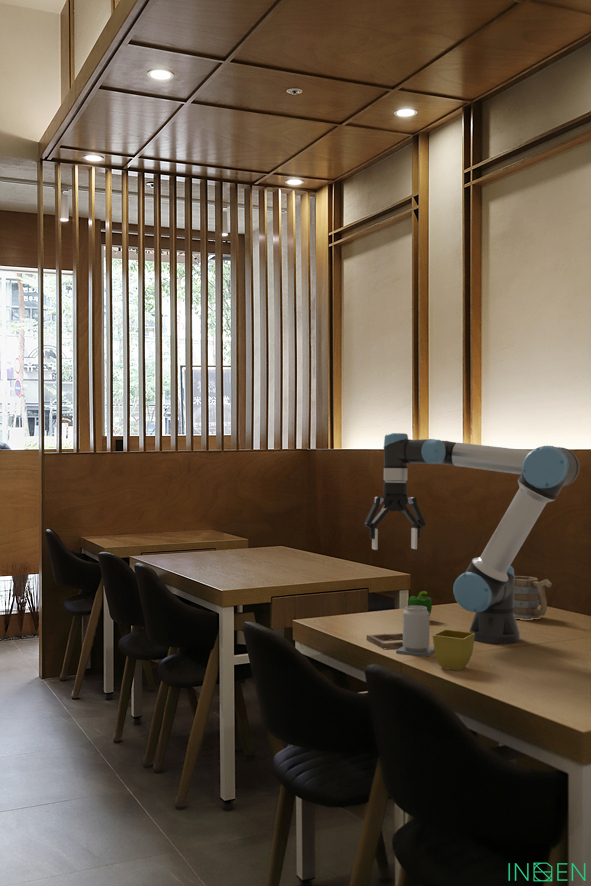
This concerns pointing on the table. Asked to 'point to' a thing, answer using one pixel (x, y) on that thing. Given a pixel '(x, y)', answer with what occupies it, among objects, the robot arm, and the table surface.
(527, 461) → the robot arm
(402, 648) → the slate coaster
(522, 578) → the tankard
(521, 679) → the table surface
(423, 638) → the white jar
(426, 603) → the bell pepper
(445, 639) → the flower pot
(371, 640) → the walnut frame
